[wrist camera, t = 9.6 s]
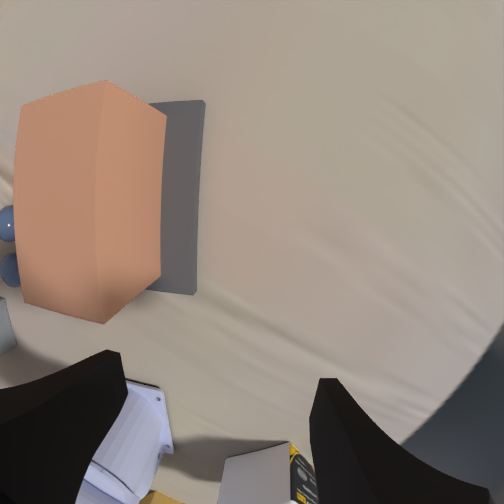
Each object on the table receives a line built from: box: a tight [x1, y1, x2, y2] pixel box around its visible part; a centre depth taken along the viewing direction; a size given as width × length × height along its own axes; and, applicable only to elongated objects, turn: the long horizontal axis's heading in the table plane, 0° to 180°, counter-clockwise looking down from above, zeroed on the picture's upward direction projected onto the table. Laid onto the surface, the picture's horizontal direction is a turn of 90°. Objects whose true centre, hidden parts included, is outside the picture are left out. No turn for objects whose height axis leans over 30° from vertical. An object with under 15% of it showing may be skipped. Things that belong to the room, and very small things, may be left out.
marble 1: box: [0, 206, 15, 242], centre depth 17 cm, size 3×3×3 cm
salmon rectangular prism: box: [13, 80, 167, 324], centre depth 13 cm, size 10×6×7 cm, turn 176°
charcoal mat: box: [146, 100, 205, 295], centre depth 17 cm, size 12×10×1 cm
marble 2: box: [0, 253, 21, 287], centre depth 18 cm, size 3×3×3 cm
